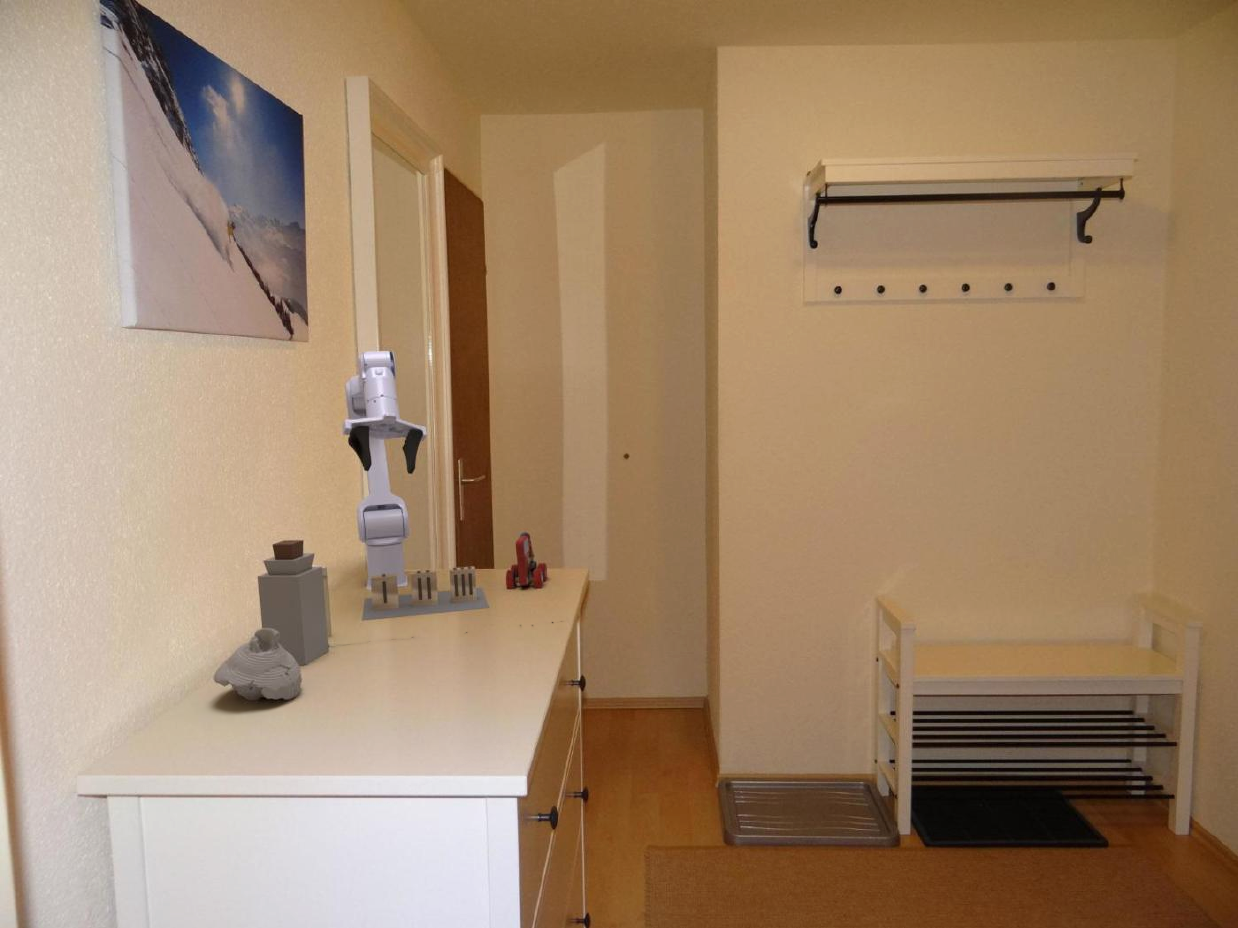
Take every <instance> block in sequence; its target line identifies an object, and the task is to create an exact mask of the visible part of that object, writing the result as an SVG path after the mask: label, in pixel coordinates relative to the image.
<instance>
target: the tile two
mask: <svg viewBox="0 0 1238 928" xmlns="http://www.w3.org/2000/svg"><path fill="white" fill-rule="evenodd" d="M437 581H438V580H437V570H436V569H425V570H416V571H411V572H410V582H411V594H412V600H413V607H417V606H427V605H437V604H438V594H437V592H438V582H437Z"/></svg>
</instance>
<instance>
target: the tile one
mask: <svg viewBox="0 0 1238 928" xmlns="http://www.w3.org/2000/svg"><path fill="white" fill-rule="evenodd" d="M398 588H399V586H397V573H395V574H382V575H373V576H371V589H370V590H371V598H372V602H373V611H376V610H386V609H396V608H399V601H398V595H399V589H398Z"/></svg>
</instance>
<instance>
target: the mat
mask: <svg viewBox="0 0 1238 928" xmlns="http://www.w3.org/2000/svg"><path fill="white" fill-rule="evenodd" d="M437 594H438V604H437V605H427V606H417V607H413V600H412V593H410V594H409V593H408V594H398V601H399V608H396V609H386V610H376V611H373V602H372V597H369V598H368V597H367V598H364V602H363V608H362V610H363V611H362V617H361V621H373V620H383V619H392V618H394V619H395V618H402V617H411V616H422V615H432V614H443V613H451V612H452V613H453V612H454V613H455V612H462V611H470V610H471V611H472V610H473V611H474V610H482V609H490V606H489V603H488V601H487V597H486V595H485V593H484V590H483V588H482V587H481V586H480V587H476V595H477V601H467V602H457V603H452V601H451V589H450V590H442V591H441V590H440V591H437Z"/></svg>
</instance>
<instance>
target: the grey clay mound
mask: <svg viewBox="0 0 1238 928" xmlns="http://www.w3.org/2000/svg"><path fill="white" fill-rule="evenodd" d="M279 638H280V633H279V632H278V631H276V630H274V629H271V628H263V629H262V628H259V629H258V630H255V632H254V636H251V638H250V641H248V642H247V643H244V644H242V645H240V646H239V647H238V648H237V649H235V651H234V652H233V653H232V654H231V655H230V657H228V658H227V659H225V661H223V662H222V664H220V666H218V668H217V669H216V671H215V672H214V675H213V680H214V683H216V684H219V685H221V686H223V687H226V686H228V685H231V687H232V689H234V690H235V691H237V694H238V695H239V696H240V697H243V698H244V699H246V700H248V701H254V702H255V701H259V700H260V699H262V698H266V699H268V700H270V699H273V700H280V699H283V700H286V701H287V700H291V699H293V698H296V697H297V696H298V695H299V693H300V691H301V689H302V688H301V685H302V683H303V678H302V673H301V667H300V666H301V665H298V663H297V662H296V660H295V659H294V657H293V656H292V655H291V654H290V653H289V652H287V651H286V650H284V648H283V647H282V646H281V645H280V644H279V643H278V641H279Z"/></svg>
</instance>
